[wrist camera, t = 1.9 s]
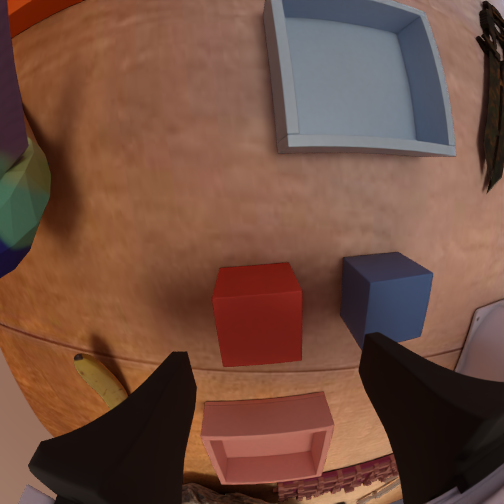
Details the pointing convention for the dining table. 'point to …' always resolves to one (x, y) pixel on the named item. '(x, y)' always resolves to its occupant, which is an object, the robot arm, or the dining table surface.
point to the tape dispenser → (33, 12)
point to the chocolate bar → (338, 480)
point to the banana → (100, 379)
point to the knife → (493, 91)
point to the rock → (214, 496)
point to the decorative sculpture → (17, 163)
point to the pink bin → (268, 438)
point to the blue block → (384, 296)
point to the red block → (258, 314)
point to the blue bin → (356, 79)
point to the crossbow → (383, 491)
